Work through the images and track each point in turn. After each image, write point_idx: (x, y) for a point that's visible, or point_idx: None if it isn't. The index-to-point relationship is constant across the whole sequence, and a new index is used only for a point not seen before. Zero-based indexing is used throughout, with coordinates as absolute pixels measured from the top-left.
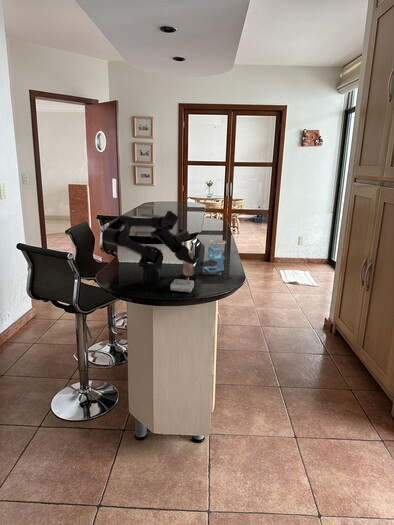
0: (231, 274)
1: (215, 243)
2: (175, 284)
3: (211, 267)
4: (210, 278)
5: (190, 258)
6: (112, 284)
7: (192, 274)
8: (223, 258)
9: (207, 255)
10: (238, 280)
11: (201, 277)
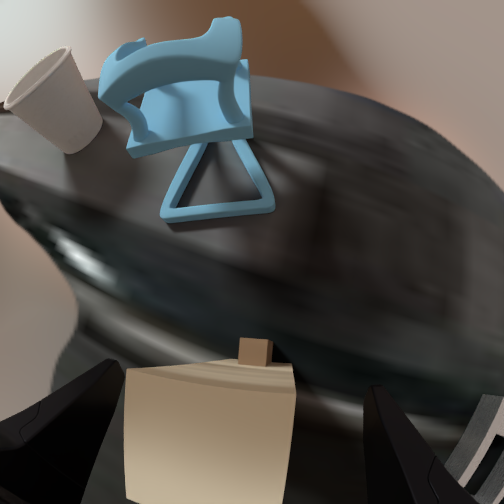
0: (318, 116)
1: (43, 79)
2: (500, 495)
3: (184, 176)
4: (379, 248)
5: (421, 448)
6: None
7: (271, 355)
8: (248, 69)
9: (139, 147)
10: (412, 125)
11: (348, 305)
